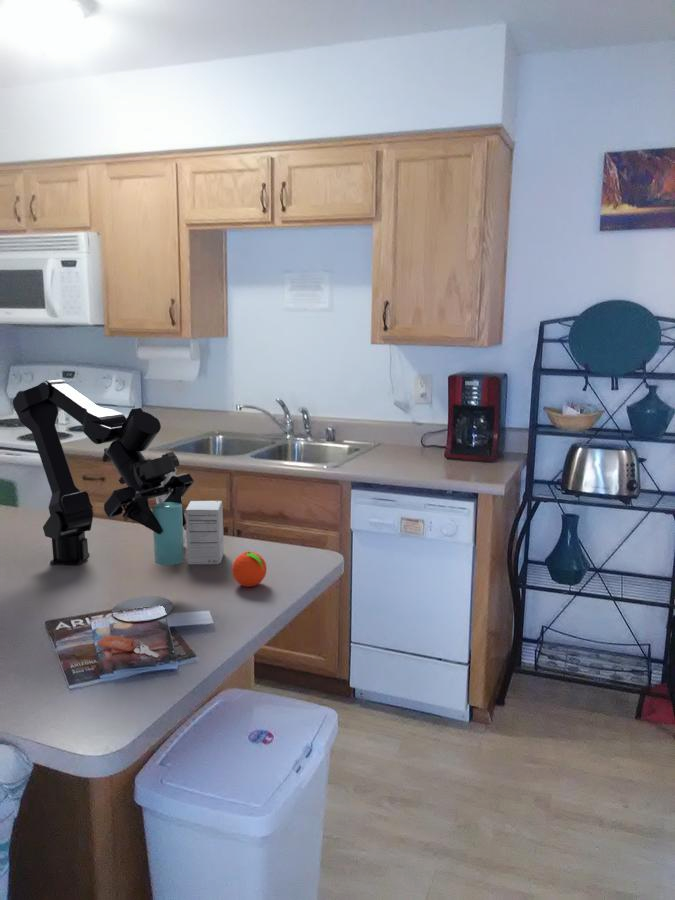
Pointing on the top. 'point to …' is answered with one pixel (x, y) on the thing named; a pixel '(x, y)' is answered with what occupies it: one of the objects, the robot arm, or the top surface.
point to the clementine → (249, 569)
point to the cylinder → (169, 533)
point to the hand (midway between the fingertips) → (172, 529)
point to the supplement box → (204, 532)
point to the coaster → (144, 603)
